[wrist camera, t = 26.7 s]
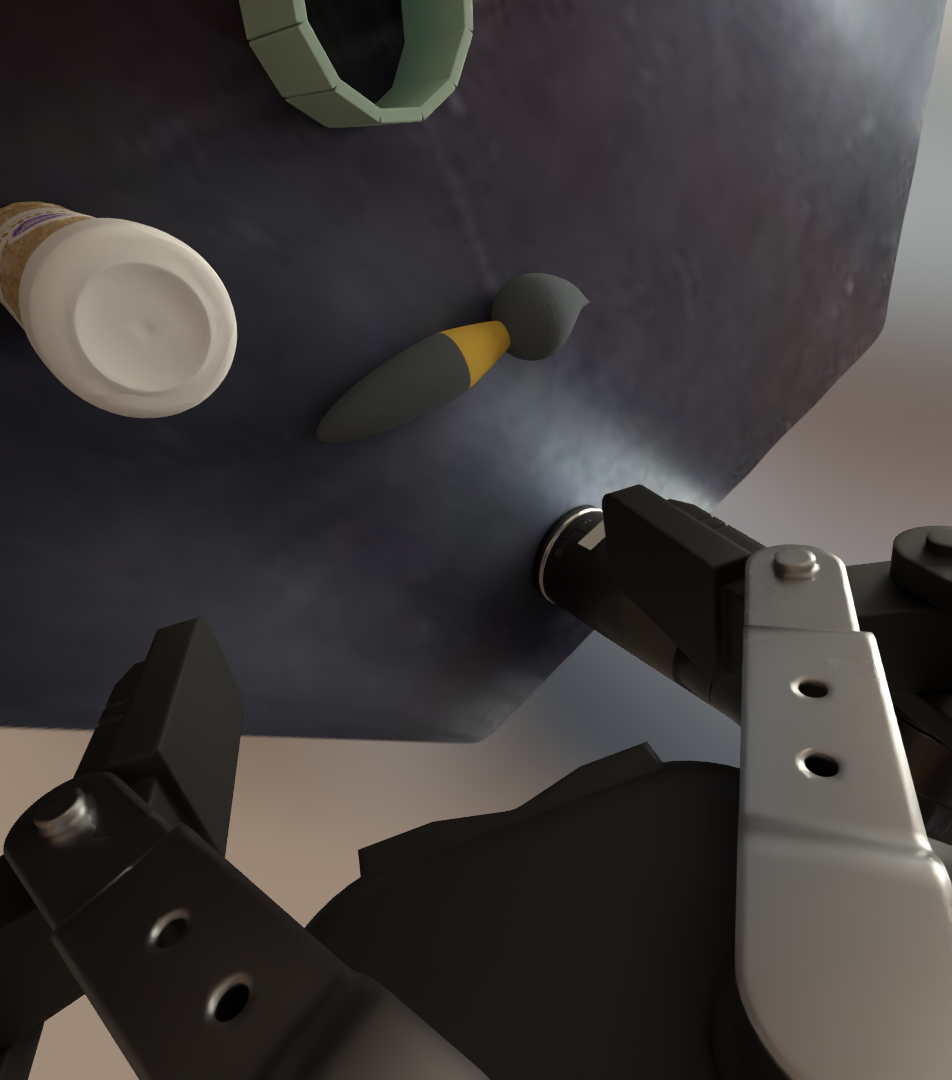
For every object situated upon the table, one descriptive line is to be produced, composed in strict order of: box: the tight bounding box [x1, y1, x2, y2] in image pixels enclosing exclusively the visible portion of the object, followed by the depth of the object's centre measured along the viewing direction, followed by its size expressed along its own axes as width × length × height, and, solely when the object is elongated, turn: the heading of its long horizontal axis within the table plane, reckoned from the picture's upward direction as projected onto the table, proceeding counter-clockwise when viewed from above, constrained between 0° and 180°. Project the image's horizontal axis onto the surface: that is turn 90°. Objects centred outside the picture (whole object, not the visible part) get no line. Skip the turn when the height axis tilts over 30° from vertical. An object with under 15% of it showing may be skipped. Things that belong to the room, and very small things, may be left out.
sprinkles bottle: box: [0, 202, 237, 418], centre depth 19 cm, size 5×5×13 cm
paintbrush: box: [316, 273, 590, 443], centre depth 35 cm, size 20×5×5 cm, turn 111°
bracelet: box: [239, 0, 473, 128], centre depth 24 cm, size 8×8×4 cm
